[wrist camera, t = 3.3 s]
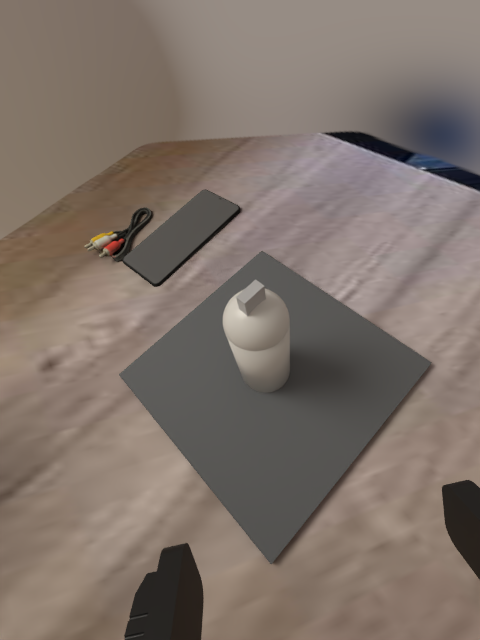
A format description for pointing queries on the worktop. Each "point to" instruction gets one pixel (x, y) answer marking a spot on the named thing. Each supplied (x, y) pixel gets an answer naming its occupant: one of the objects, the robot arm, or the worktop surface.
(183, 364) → the mat
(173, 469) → the worktop surface
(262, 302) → the white pump bottle
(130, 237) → the composite cable
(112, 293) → the worktop surface
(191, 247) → the smartphone
